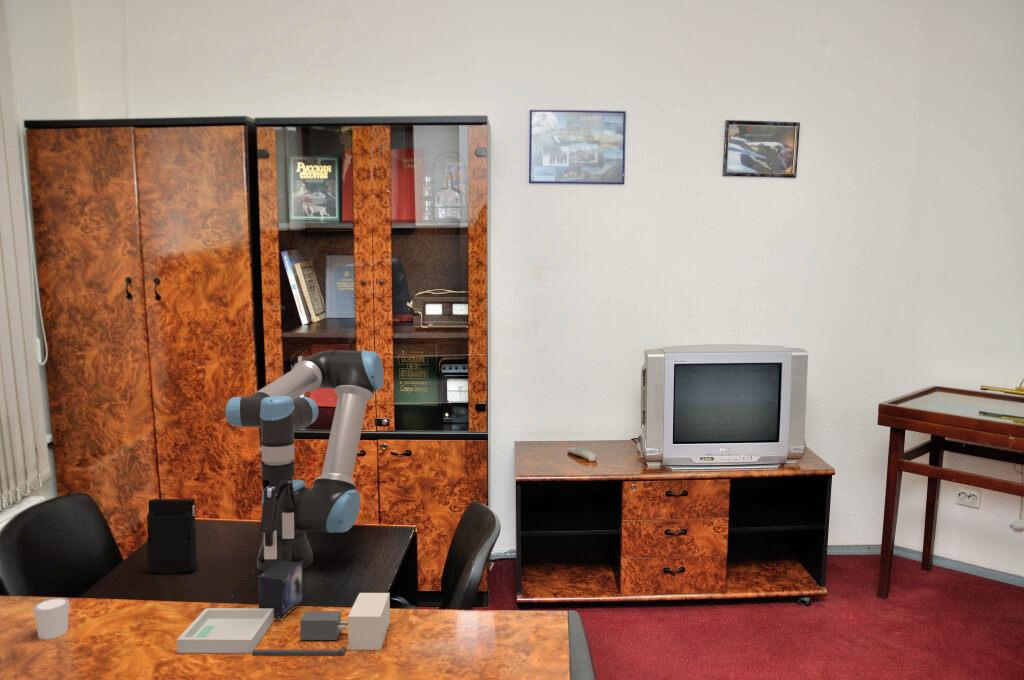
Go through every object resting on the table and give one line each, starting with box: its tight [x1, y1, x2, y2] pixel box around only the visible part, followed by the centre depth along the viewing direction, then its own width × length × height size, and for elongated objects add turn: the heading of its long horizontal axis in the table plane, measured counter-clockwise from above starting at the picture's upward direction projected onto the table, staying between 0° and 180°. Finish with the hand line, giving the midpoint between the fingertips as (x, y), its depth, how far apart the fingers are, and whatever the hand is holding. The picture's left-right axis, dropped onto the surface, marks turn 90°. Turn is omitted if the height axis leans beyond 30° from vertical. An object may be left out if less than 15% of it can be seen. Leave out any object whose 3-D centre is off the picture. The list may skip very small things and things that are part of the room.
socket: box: [347, 592, 391, 651], centre depth 164 cm, size 12×7×8 cm, turn 0°
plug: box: [299, 610, 348, 641], centre depth 164 cm, size 4×10×4 cm, turn 90°
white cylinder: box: [33, 597, 70, 641], centre depth 165 cm, size 7×7×7 cm
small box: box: [258, 560, 303, 619], centre depth 177 cm, size 11×6×10 cm, turn 168°
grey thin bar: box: [251, 645, 347, 657], centre depth 157 cm, size 2×20×1 cm, turn 90°
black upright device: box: [146, 498, 198, 575], centre depth 199 cm, size 12×5×20 cm, turn 92°
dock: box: [176, 607, 275, 654], centre depth 164 cm, size 15×16×3 cm
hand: (279, 548), depth 176 cm, fingers open, 13 cm apart
